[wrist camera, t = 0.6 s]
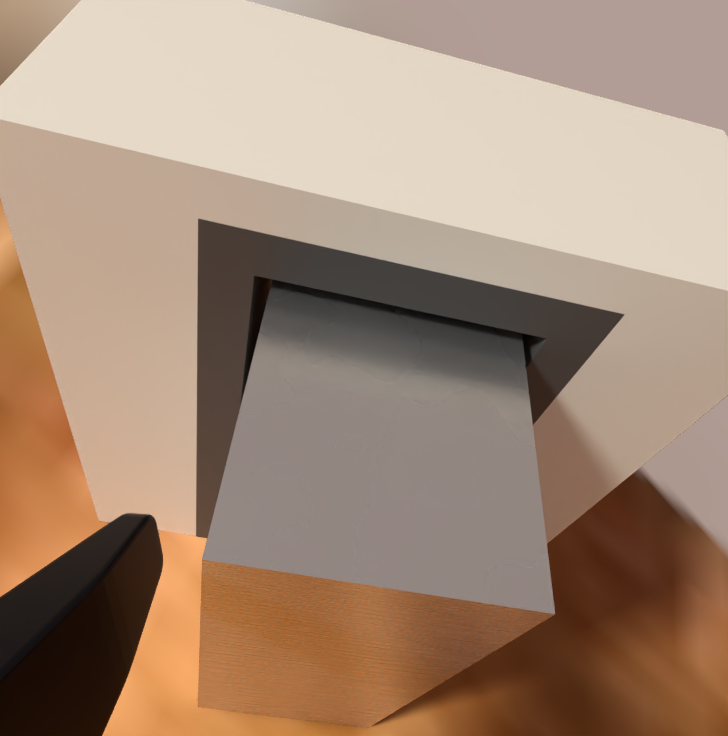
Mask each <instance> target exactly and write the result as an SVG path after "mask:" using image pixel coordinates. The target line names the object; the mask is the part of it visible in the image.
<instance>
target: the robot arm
mask: <svg viewBox="0 0 728 736" xmlns="http://www.w3.org/2000/svg"><path fill="white" fill-rule="evenodd" d="M162 567H163V554H162V549H161V543H160V538H159V533H158V528H157V523H156V520H155V518H154V517H153V516H152V515H150V514H138V513H125V514H123V515H121V516H119V517H118V518H116V519H115V520H113V521H112V522H110V523H109V524H107V525H106V526H104V527H103V528H101V529H100V530H98V531H97V532H95V533H94V534H93V535H91V536H90V537H88V538H87V539H85V540H84V541H82V542H81V543H79V544H78V545H76V546H75V547H73V548H72V549H70V550H69V551H67V552H66V553H65V554H63V555H62V556H60V557H59V558H57V559H56V560H54V561H53V562H51V563H50V564H48V565H47V566H45V567H44V568H42V569H41V570H40V571H38V572H37V573H35V574H34V575H32V576H31V577H29V578H28V579H26V580H25V581H23V582H22V583H20V584H19V585H17V586H16V587H15V588H13V589H12V590H10V591H9V592H7V593H6V594H4V595H3V596H1V597H0V736H102V735H103V732H104V730H105V728H106V726H107V723H108V721H109V719H110V717H111V714H112V712H113V710H114V707H115V705H116V703H117V701H118V698H119V696H120V694H121V691H122V689H123V687H124V684H125V682H126V679H127V677H128V674H129V671H130V668H131V666H132V663H133V660H134V657H135V654H136V651H137V647H138V644H139V641H140V638H141V635H142V632H143V629H144V626H145V622H146V619H147V616H148V613H149V610H150V607H151V604H152V601H153V597H154V594H155V591H156V588H157V585H158V582H159V579H160V576H161V572H162Z"/></svg>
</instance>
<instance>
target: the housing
mask: <svg viewBox="0 0 728 736" xmlns="http://www.w3.org/2000/svg"><path fill="white" fill-rule="evenodd" d="M0 198H1V201H2V205H3V208H4V211H5V214H6V218H7V221H8V224H9V228H10V231H11V234H12V237H13V241H14V244H15V247H16V250H17V254H18V257H19V260H20V264H21V267H22V270H23V273H24V277H25V280H26V283H27V287H28V290H29V293H30V296H31V300H32V303H33V306H34V310H35V313H36V316H37V319H38V323H39V326H40V329H41V333H42V336H43V339H44V342H45V346H46V349H47V352H48V356H49V359H50V362H51V365H52V369H53V372H54V375H55V379H56V382H57V385H58V388H59V392H60V395H61V398H62V402H63V405H64V408H65V411H66V415H67V418H68V421H69V424H70V428H71V431H72V434H73V438H74V441H75V444H76V447H77V451H78V454H79V457H80V461H81V464H82V467H83V470H84V474H85V477H86V480H87V484H88V487H89V490H90V493H91V497H92V500H93V503H94V507H95V510H96V513H97V516H98V520H99V521H104V522H112V521H113V520H115V519H116V518H118V517H119V516H121V515H123V514H125V513H138V514H150V515H152V516H153V517H154V518H155V520H156V523H157V528H158V530H160V531H167V532H173V533H179V534H185V535H192V536H198V537H204V538H208V534H209V530H210V526H211V522H212V518H213V514H214V510H215V506H216V502H217V498H218V494H219V490H220V486H221V482H222V478H223V474H224V470H225V466H226V462H227V458H228V454H229V450H230V446H231V442H232V439H233V435H234V431H235V427H236V423H237V419H238V415H239V411H240V407H241V403H242V399H243V395H244V391H245V387H246V383H247V379H248V375H249V371H250V367H251V363H252V359H253V355H254V351H255V347H256V343H257V339H258V335H259V331H260V327H261V323H262V319H263V315H264V311H265V307H266V303H267V299H268V295H269V291H270V287H271V283H272V279H273V280H278V281H282V282H287V283H292V284H296V285H301V286H306V287H310V288H315V289H319V290H324V291H329V292H333V293H338V294H343V295H347V296H352V297H357V298H361V299H366V300H370V301H375V302H380V303H384V304H389V305H394V306H398V307H403V308H408V309H412V310H417V311H422V312H426V313H431V314H435V315H440V316H445V317H449V318H454V319H459V320H463V321H468V322H473V323H477V324H482V325H486V326H491V327H496V328H500V329H505V330H510V331H514V332H519V333H522V338H523V347H524V355H525V364H526V372H527V381H528V389H529V397H530V406H531V414H532V423H533V431H534V439H535V448H536V456H537V465H538V473H539V482H540V490H541V498H542V507H543V515H544V524H545V532H546V541H547V543H549V542H550V541H551V540H552V539H553V538H555V537H556V536H557V535H558V534H560V533H561V532H562V531H563V530H564V529H566V528H567V527H568V526H569V525H571V524H572V523H573V522H574V521H575V520H577V519H578V518H579V517H580V516H581V515H583V514H584V513H585V512H586V511H588V510H589V509H590V508H591V507H592V506H594V505H595V504H596V503H597V502H599V501H600V500H601V499H602V498H603V497H605V496H606V495H607V494H608V493H610V492H611V491H612V490H613V489H614V488H616V487H617V486H618V485H619V484H620V483H622V482H623V481H624V480H625V479H627V478H628V477H629V476H630V475H631V474H633V473H634V472H635V471H636V470H638V469H639V468H640V467H641V466H642V465H644V464H645V463H646V462H647V461H648V460H650V459H651V458H652V457H653V456H654V455H656V454H657V453H658V452H659V451H661V450H662V449H663V448H664V447H665V446H667V445H668V444H669V443H670V442H672V441H673V440H674V439H675V438H676V437H678V436H679V435H680V434H681V433H682V432H684V431H685V430H686V429H687V428H688V427H690V426H691V425H692V424H694V423H695V422H696V421H697V420H698V419H700V418H701V417H702V416H703V415H704V414H706V413H707V412H708V411H709V410H711V409H712V408H713V407H714V406H715V405H717V404H718V403H719V402H720V401H722V400H723V399H724V398H725V397H726V396H728V137H727V136H726V134H725V132H724V131H723V130H720V129H716V128H713V127H709V126H705V125H702V124H698V123H694V122H691V121H687V120H683V119H680V118H676V117H672V116H668V115H664V114H661V113H658V112H654V111H650V110H646V109H643V108H639V107H635V106H632V105H628V104H624V103H621V102H617V101H613V100H610V99H606V98H602V97H598V96H595V95H591V94H588V93H584V92H580V91H576V90H573V89H569V88H566V87H562V86H558V85H555V84H551V83H547V82H544V81H540V80H536V79H533V78H529V77H525V76H522V75H517V74H514V73H511V72H506V71H503V70H499V69H495V68H492V67H489V66H485V65H480V64H477V63H474V62H470V61H466V60H463V59H459V58H455V57H452V56H448V55H444V54H440V53H437V52H433V51H430V50H426V49H422V48H419V47H415V46H411V45H407V44H404V43H400V42H397V41H393V40H389V39H386V38H382V37H378V36H375V35H371V34H367V33H363V32H360V31H356V30H353V29H349V28H345V27H341V26H338V25H334V24H331V23H327V22H323V21H319V20H316V19H312V18H309V17H304V16H301V15H298V14H294V13H290V12H286V11H283V10H279V9H275V8H272V7H268V6H264V5H260V4H257V3H253V2H250V1H246V0H81V1H80V2H79V3H78V4H77V6H75V8H73V10H72V11H71V12H70V13H69V14H68V15H67V16H66V17H65V18H64V19H63V20H62V21H61V22H60V23H59V24H58V25H57V27H56V28H55V29H54V30H53V31H52V32H51V33H50V34H49V35H48V36H47V37H46V38H45V39H44V40H43V41H42V42H41V44H40V45H39V46H38V47H37V48H36V49H35V50H34V51H33V52H32V53H31V54H30V55H29V56H28V57H27V58H26V59H25V61H24V62H23V63H22V64H21V65H20V66H19V67H18V68H17V69H16V70H15V71H14V72H13V73H12V74H11V75H10V76H9V77H8V79H7V80H6V81H5V82H4V83H3V84H2V85H1V86H0Z"/></svg>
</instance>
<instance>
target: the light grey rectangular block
mask: <svg viewBox="0 0 728 736" xmlns="http://www.w3.org/2000/svg"><path fill="white" fill-rule="evenodd" d="M553 615H555V608H554V600H553V591H552V583H551V574H550V566H549V557H548V549H547V541H546V532H545V524H544V515H543V507H542V498H541V490H540V482H539V473H538V465H537V456H536V448H535V439H534V431H533V423H532V414H531V406H530V397H529V389H528V381H527V372H526V364H525V355H524V347H523V338H522V333H519V332H514V331H510V330H505V329H500V328H496V327H491V326H486V325H482V324H477V323H473V322H468V321H463V320H459V319H454V318H449V317H445V316H440V315H435V314H431V313H426V312H422V311H417V310H412V309H408V308H403V307H398V306H394V305H389V304H384V303H380V302H375V301H370V300H366V299H361V298H357V297H352V296H347V295H343V294H338V293H333V292H329V291H324V290H319V289H315V288H310V287H306V286H301V285H296V284H292V283H287V282H282V281H278V280H273V279H272V283H271V287H270V291H269V295H268V299H267V303H266V307H265V311H264V315H263V319H262V323H261V327H260V331H259V335H258V339H257V343H256V347H255V351H254V355H253V359H252V363H251V367H250V371H249V375H248V379H247V383H246V387H245V391H244V395H243V399H242V403H241V407H240V411H239V415H238V419H237V423H236V427H235V431H234V435H233V439H232V442H231V446H230V450H229V454H228V458H227V462H226V466H225V470H224V474H223V478H222V482H221V486H220V490H219V494H218V498H217V502H216V506H215V510H214V514H213V518H212V522H211V526H210V530H209V534H208V538H207V542H206V546H205V550H204V554H203V558H202V581H201V615H200V649H199V683H198V707H201V708H209V709H217V710H226V711H234V712H242V713H250V714H258V715H266V716H274V717H282V718H290V719H298V720H306V721H314V722H322V723H330V724H338V725H346V726H354V727H362V728H369V727H370V726H372V725H374V724H375V723H377V722H379V721H380V720H382V719H383V718H385V717H387V716H388V715H390V714H392V713H393V712H395V711H397V710H398V709H400V708H402V707H403V706H405V705H407V704H408V703H410V702H411V701H413V700H415V699H416V698H418V697H420V696H421V695H423V694H425V693H426V692H428V691H430V690H431V689H433V688H435V687H436V686H438V685H439V684H441V683H443V682H444V681H446V680H448V679H449V678H451V677H453V676H454V675H456V674H458V673H459V672H461V671H463V670H464V669H466V668H467V667H469V666H471V665H472V664H474V663H476V662H477V661H479V660H481V659H482V658H484V657H486V656H487V655H489V654H491V653H492V652H494V651H495V650H497V649H499V648H500V647H502V646H504V645H505V644H507V643H509V642H510V641H512V640H514V639H515V638H517V637H519V636H520V635H522V634H523V633H525V632H527V631H528V630H530V629H532V628H533V627H535V626H537V625H538V624H540V623H542V622H543V621H545V620H547V619H548V618H550V617H551V616H553Z"/></svg>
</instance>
